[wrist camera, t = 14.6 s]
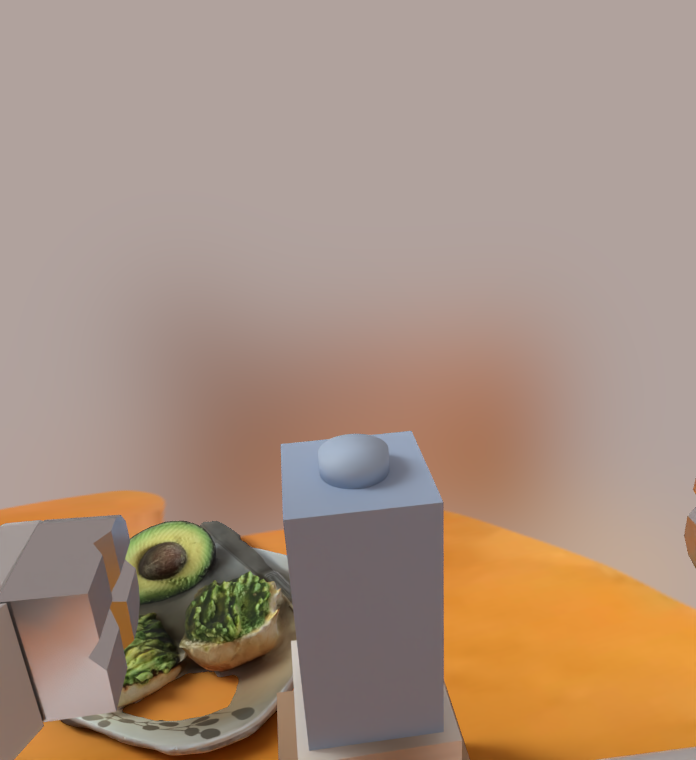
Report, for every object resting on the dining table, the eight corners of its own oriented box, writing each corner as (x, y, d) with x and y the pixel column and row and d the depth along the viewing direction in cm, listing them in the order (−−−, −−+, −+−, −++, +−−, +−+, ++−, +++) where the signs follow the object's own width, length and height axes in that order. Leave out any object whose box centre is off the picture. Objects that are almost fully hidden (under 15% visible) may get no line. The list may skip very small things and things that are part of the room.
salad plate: (408, 590, 45) (407, 535, 43) (273, 833, 30) (262, 764, 29) (185, 530, 53) (176, 481, 51) (-7, 699, 38) (-29, 639, 37)
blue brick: (309, 750, 24) (280, 497, 20) (302, 647, 28) (278, 425, 24) (443, 732, 24) (443, 480, 20) (415, 633, 29) (410, 411, 25)
